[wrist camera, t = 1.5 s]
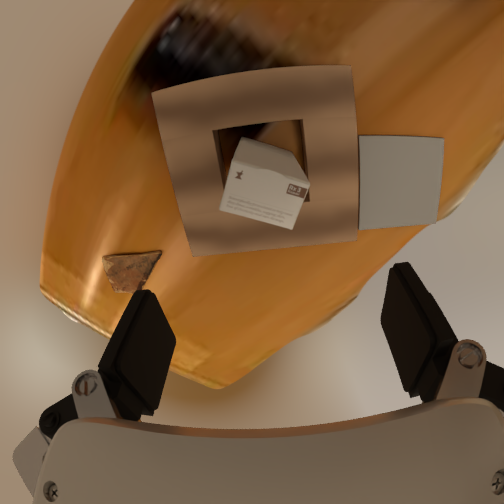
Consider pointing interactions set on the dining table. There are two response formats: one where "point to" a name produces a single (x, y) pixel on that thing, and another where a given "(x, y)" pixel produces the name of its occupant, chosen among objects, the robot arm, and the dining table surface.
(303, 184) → the skincare box
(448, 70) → the dining table surface
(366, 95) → the dining table surface
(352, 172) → the walnut holder
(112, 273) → the shard
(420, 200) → the grey mat
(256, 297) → the dining table surface
